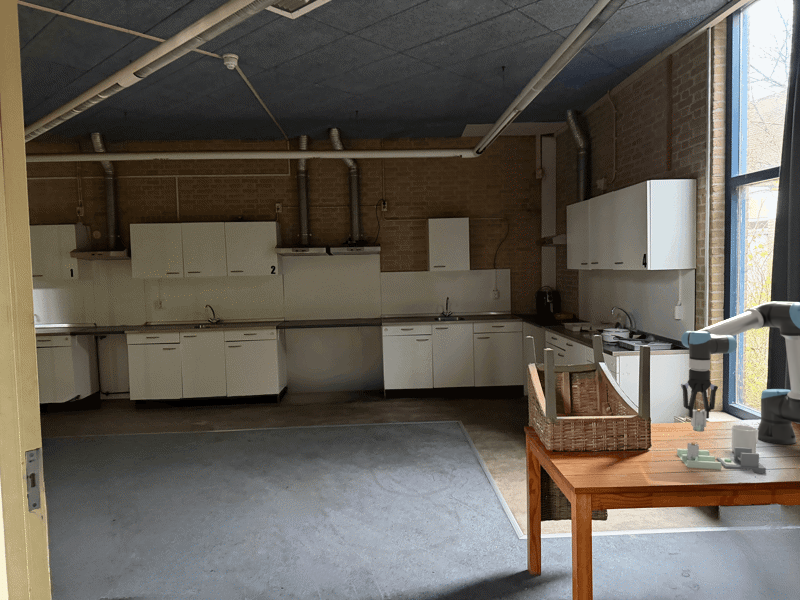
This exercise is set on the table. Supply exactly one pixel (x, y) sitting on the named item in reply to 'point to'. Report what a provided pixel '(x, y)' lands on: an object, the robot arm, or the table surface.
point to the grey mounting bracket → (743, 460)
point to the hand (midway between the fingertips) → (698, 425)
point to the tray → (703, 462)
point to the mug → (744, 437)
